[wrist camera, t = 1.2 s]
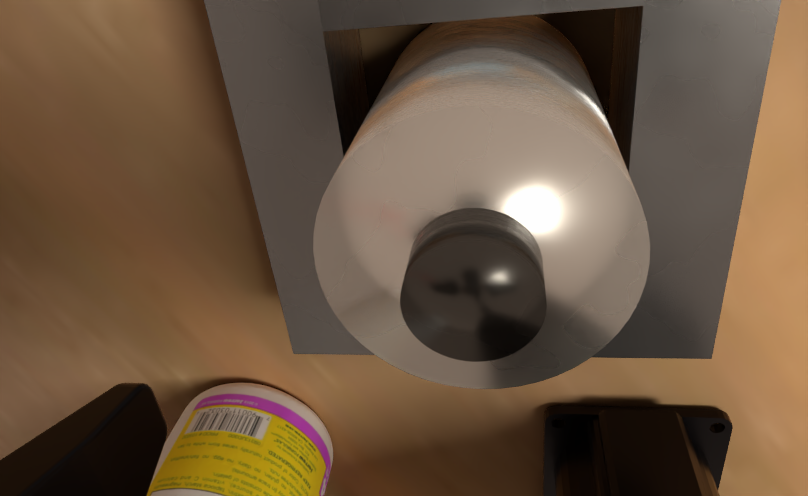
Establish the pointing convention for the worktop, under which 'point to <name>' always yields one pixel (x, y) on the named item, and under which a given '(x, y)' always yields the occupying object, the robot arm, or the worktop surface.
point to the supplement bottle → (245, 446)
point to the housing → (628, 118)
